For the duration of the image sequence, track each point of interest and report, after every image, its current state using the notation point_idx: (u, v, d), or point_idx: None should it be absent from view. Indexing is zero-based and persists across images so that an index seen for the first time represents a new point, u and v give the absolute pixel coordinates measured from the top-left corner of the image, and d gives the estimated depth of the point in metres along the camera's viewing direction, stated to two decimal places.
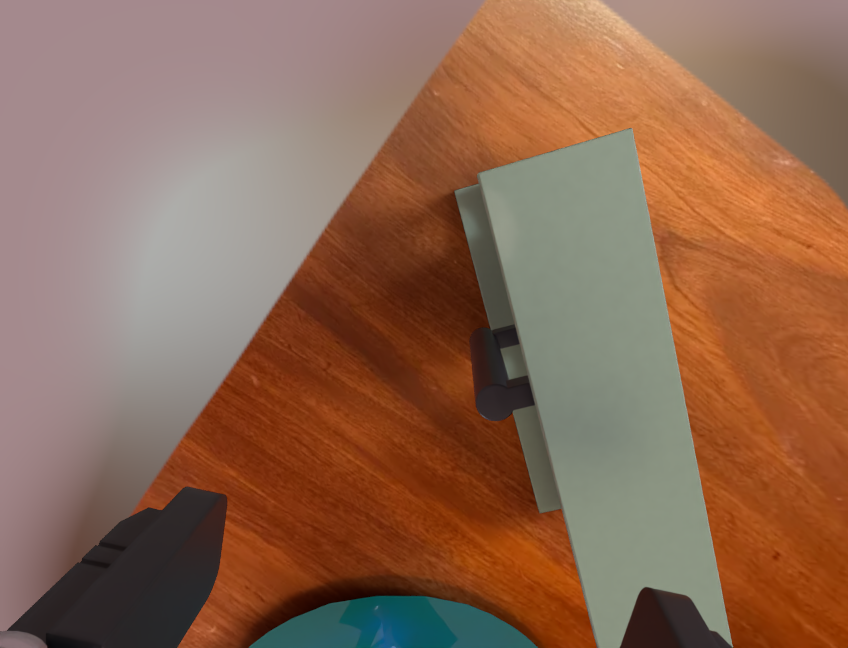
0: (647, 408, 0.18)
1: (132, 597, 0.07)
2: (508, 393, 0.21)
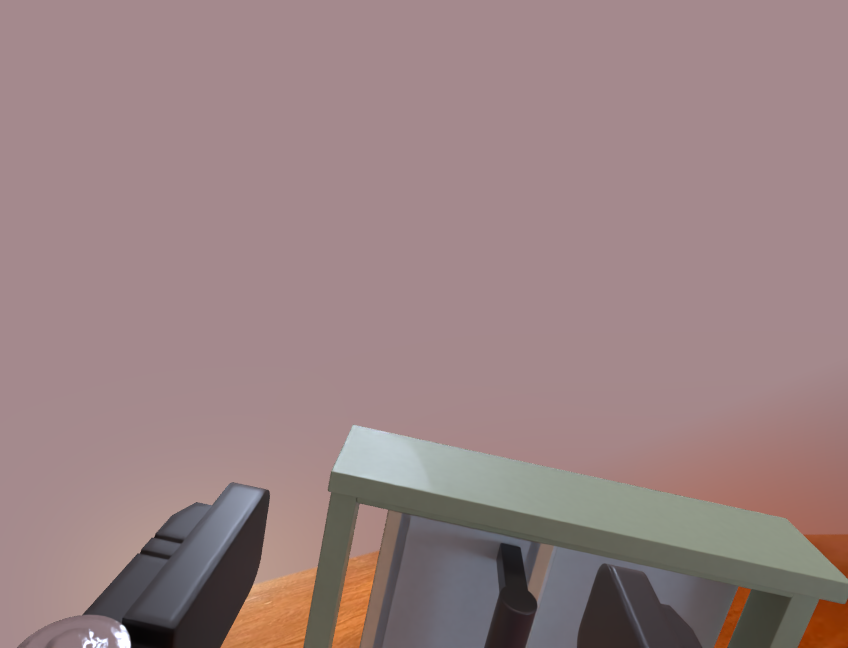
0: (528, 474, 0.26)
1: (196, 585, 0.08)
2: (511, 586, 0.22)
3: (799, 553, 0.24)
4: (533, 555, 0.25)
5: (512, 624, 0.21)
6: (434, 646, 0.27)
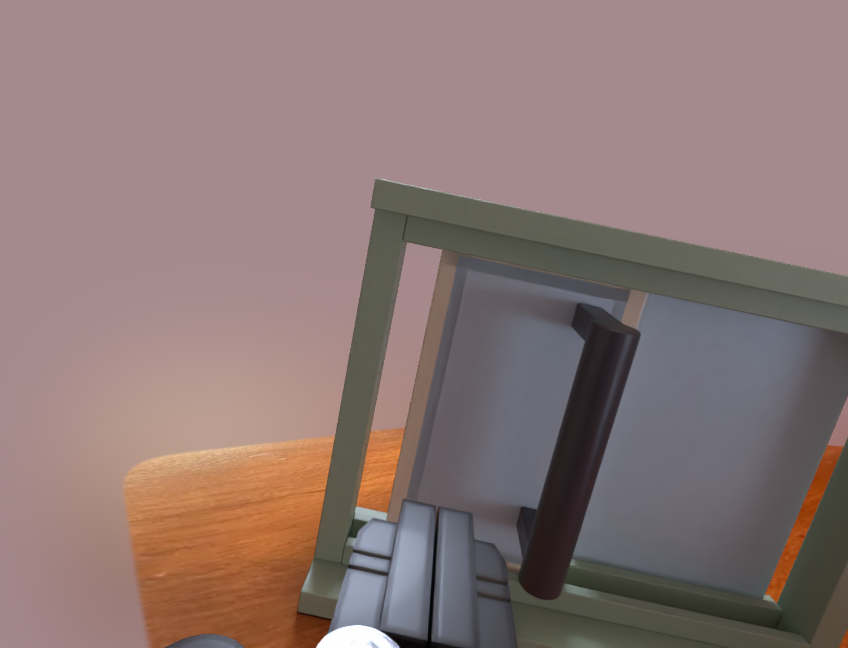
0: None
1: (423, 599, 0.08)
2: (603, 320, 0.18)
3: None
4: (617, 319, 0.21)
5: (611, 350, 0.17)
6: (492, 445, 0.22)
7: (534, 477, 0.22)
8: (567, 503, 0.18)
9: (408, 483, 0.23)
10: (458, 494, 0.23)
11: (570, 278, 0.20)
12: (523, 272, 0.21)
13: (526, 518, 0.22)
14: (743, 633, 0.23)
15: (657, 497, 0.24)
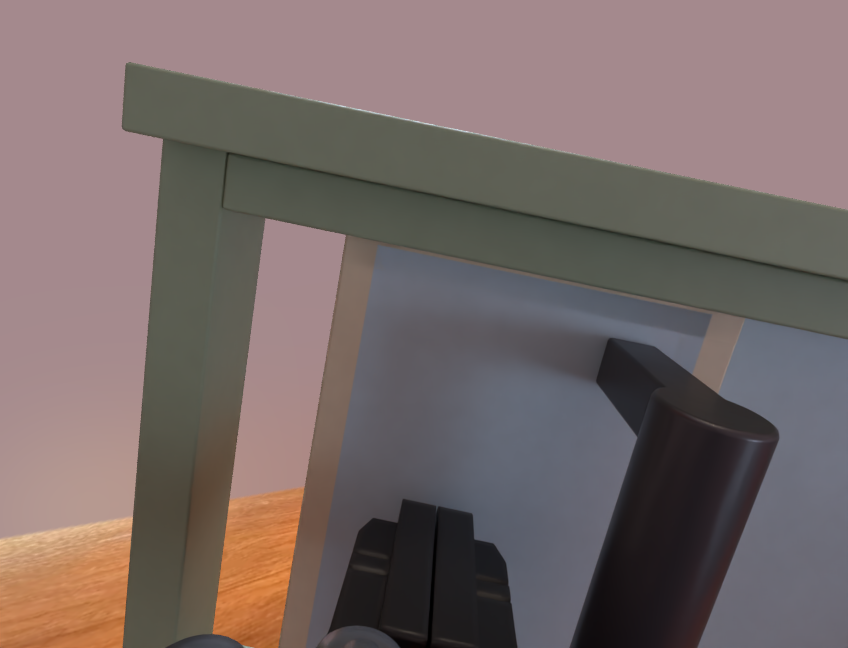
0: None
1: (423, 598, 0.08)
2: (678, 388, 0.08)
3: None
4: (685, 368, 0.11)
5: (711, 476, 0.07)
6: None
7: (527, 647, 0.12)
8: None
9: None
10: None
11: (595, 290, 0.10)
12: (502, 280, 0.11)
13: None
14: None
15: None
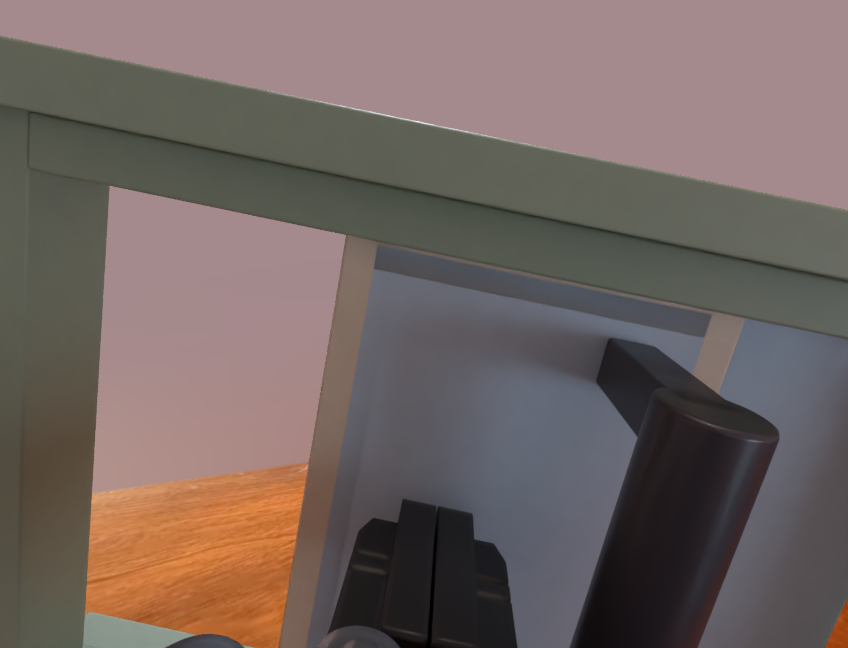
0: None
1: (423, 599, 0.08)
2: (678, 389, 0.08)
3: None
4: (685, 368, 0.11)
5: (711, 476, 0.07)
6: None
7: None
8: None
9: None
10: None
11: (595, 290, 0.10)
12: (502, 280, 0.11)
13: None
14: None
15: None
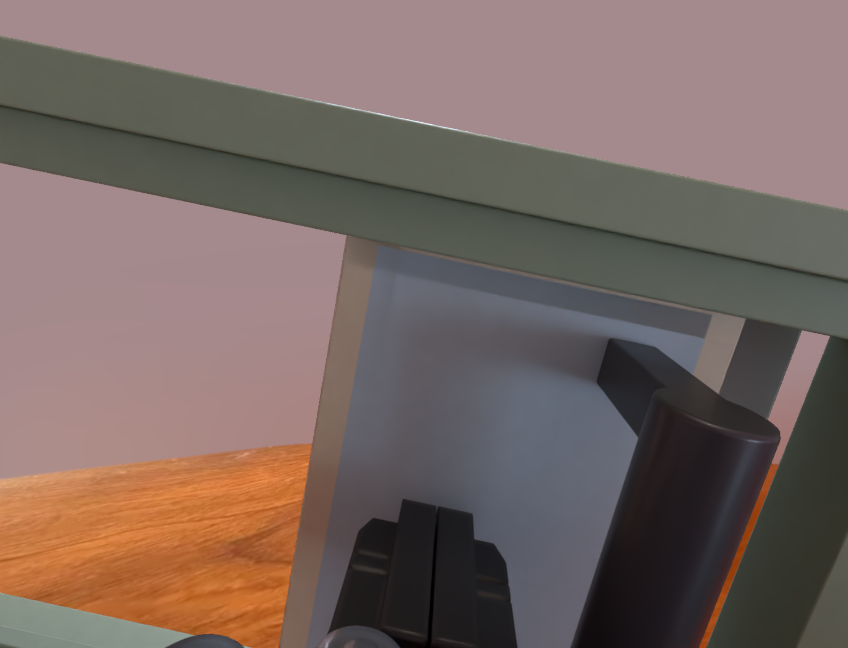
0: None
1: (423, 599, 0.08)
2: (679, 389, 0.08)
3: None
4: (685, 368, 0.11)
5: (712, 476, 0.07)
6: None
7: None
8: None
9: None
10: None
11: (595, 290, 0.10)
12: (503, 280, 0.11)
13: None
14: None
15: None
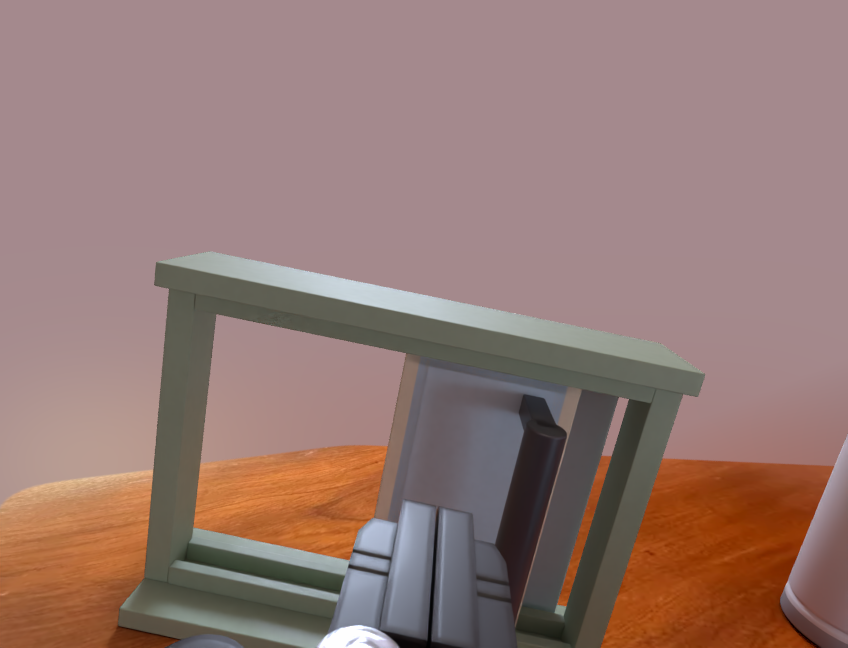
0: (385, 292, 0.25)
1: (423, 599, 0.08)
2: (537, 420, 0.21)
3: (658, 356, 0.23)
4: (558, 407, 0.24)
5: (541, 450, 0.20)
6: None
7: (491, 541, 0.26)
8: (509, 575, 0.21)
9: None
10: None
11: None
12: (476, 369, 0.24)
13: None
14: None
15: None
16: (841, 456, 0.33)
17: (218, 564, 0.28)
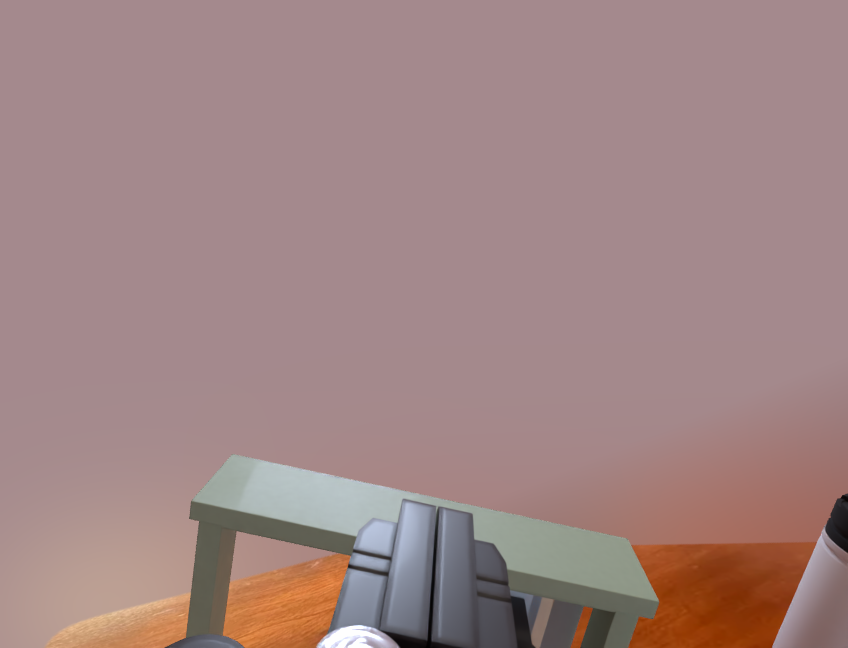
0: (387, 499, 0.28)
1: (423, 599, 0.08)
2: None
3: (621, 572, 0.26)
4: (536, 606, 0.28)
5: None
6: None
7: None
8: None
9: None
10: None
11: None
12: None
13: None
14: None
15: None
16: (794, 601, 0.37)
17: None
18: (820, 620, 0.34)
